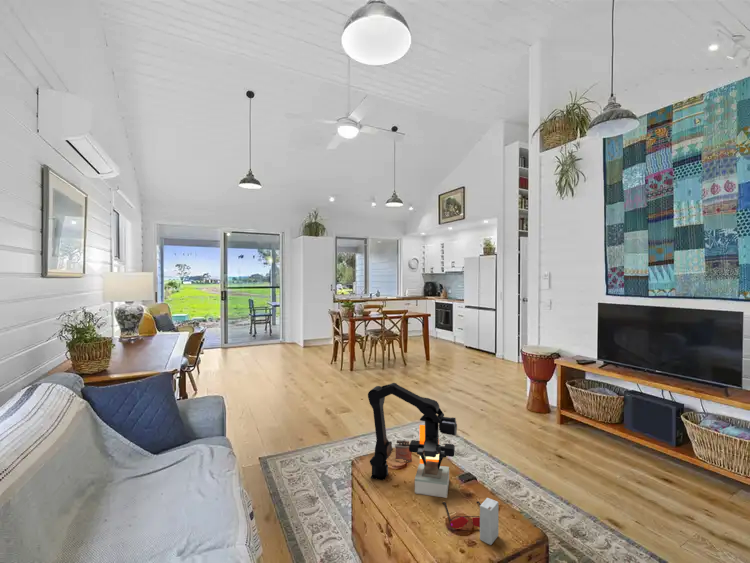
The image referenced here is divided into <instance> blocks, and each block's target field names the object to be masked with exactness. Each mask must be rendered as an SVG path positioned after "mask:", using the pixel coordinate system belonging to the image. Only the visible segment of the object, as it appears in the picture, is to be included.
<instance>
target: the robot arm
mask: <svg viewBox="0 0 750 563" xmlns="http://www.w3.org/2000/svg"><path fill="white" fill-rule="evenodd" d="M390 395H393V396H395V397H396V398H399V399H401V400H402V401H404V402H406V403H408V404H410V405H412V406H413V407H415V408H417V410H418V411H419V412H420V413H421V414H423V415H422V416H421V417H420V418H419V421H420V422H421V421H422V422H424V425H425V441H424V444H420V440H415V439H412V440H411V441H409V444H410V445H409V451H410V452H412V453H416V454H417V455H419V457H420V456H421V458H422V460H423V463H424V466H425V465H426V457H436V454H439V462H438V469H439V468H440V466H442V465H441V464H442V461H443V459H444V458H447V457H455V451H456V448H455V444H453V443H445V444H444V445H441V444H440V438H439V432H440V433H441V434H444V435H450V436H457V430H458V424H457V421H456V419H457V418H456V417H449V416H445V414H444V412H443V410H442V409H441V408H440V404H439V402H438V401H437V400H435V399H433V398H429V397H423V396H420V395H418V394H416V393H414V392H412V391H411V390H408V389H406V388H404V387H403V386H400V385H399V384H397V382H391V383H389V384H385V385H384V384H383V385H382V386H381V385H376V386H374V387H373V388H372V389H370V390H368V393H367V398H368V403H369V404H370V405H369V406H370V407H371V408H372V413H373V420H374V428H375V429H374V430H375V436H376V441H375V442H376V443H375V447H374V455H373V456H372V458H371V459H370V460H369V464H370V466H371V476H370V479H374V480H380V481H385V480H386V478H387V477H388V475H389V465H388V461H387V460H388V459H389V457H390V456H391V455H392V452H393V450H394V448H393V446H392V445H393V441H390V440H388V438H387V428H386V421H385V412H384V404H385V398H386V397H388V396H390Z"/></svg>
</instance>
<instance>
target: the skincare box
mask: <svg viewBox="0 0 750 563" xmlns="http://www.w3.org/2000/svg"><path fill="white" fill-rule="evenodd" d="M480 504H481V505H479V516H480V527H479V540H480V541H482V542H483V543H485V544H487V545H490V546H491V545H492V544H493V543H494V542H495V541H496V539H497V538H498V537H499V501H497V500H494V499H492V498H489V497H486V498H485V500H483V502H482V503H480Z"/></svg>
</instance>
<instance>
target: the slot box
mask: <svg viewBox="0 0 750 563" xmlns="http://www.w3.org/2000/svg"><path fill="white" fill-rule="evenodd" d="M449 484H450V466H447V465H444V466H443V465H440V468H439V470H438V474H437V475H431V474H425V466H424V464H421V463H420V462H419V463H418V466H417V469H416V473H415V477H414V494H417V495H422V496H423V495H424V496H431V497H437V498H438V497H439V498H444V499H445V498H446V499H448V494H449Z"/></svg>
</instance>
